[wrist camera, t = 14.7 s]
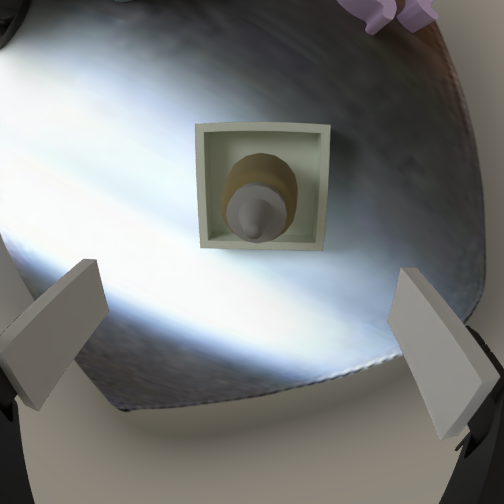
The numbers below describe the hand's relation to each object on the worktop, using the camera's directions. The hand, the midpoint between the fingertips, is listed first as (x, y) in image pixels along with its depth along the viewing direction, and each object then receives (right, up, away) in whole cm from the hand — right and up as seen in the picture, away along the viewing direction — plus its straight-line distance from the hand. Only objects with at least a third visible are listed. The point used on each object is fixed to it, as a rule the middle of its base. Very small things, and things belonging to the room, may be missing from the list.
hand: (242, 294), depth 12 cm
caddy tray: (+2, +10, +24) cm, 26 cm away
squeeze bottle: (+2, +10, +24) cm, 26 cm away
